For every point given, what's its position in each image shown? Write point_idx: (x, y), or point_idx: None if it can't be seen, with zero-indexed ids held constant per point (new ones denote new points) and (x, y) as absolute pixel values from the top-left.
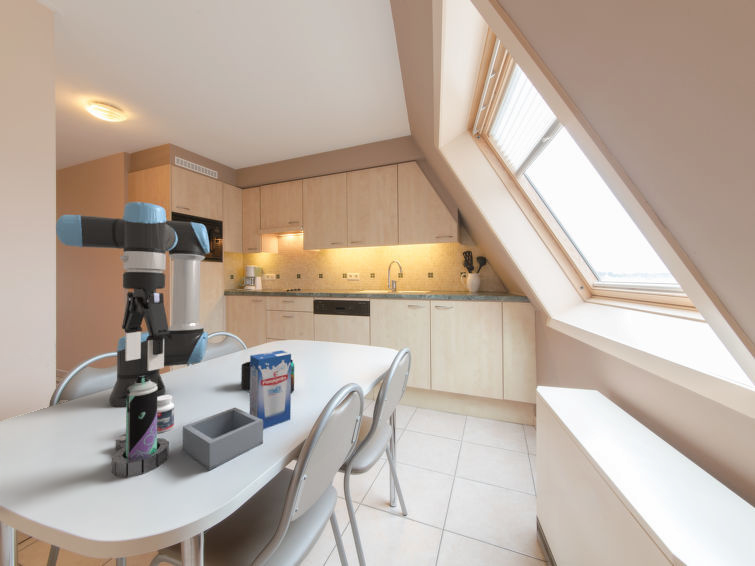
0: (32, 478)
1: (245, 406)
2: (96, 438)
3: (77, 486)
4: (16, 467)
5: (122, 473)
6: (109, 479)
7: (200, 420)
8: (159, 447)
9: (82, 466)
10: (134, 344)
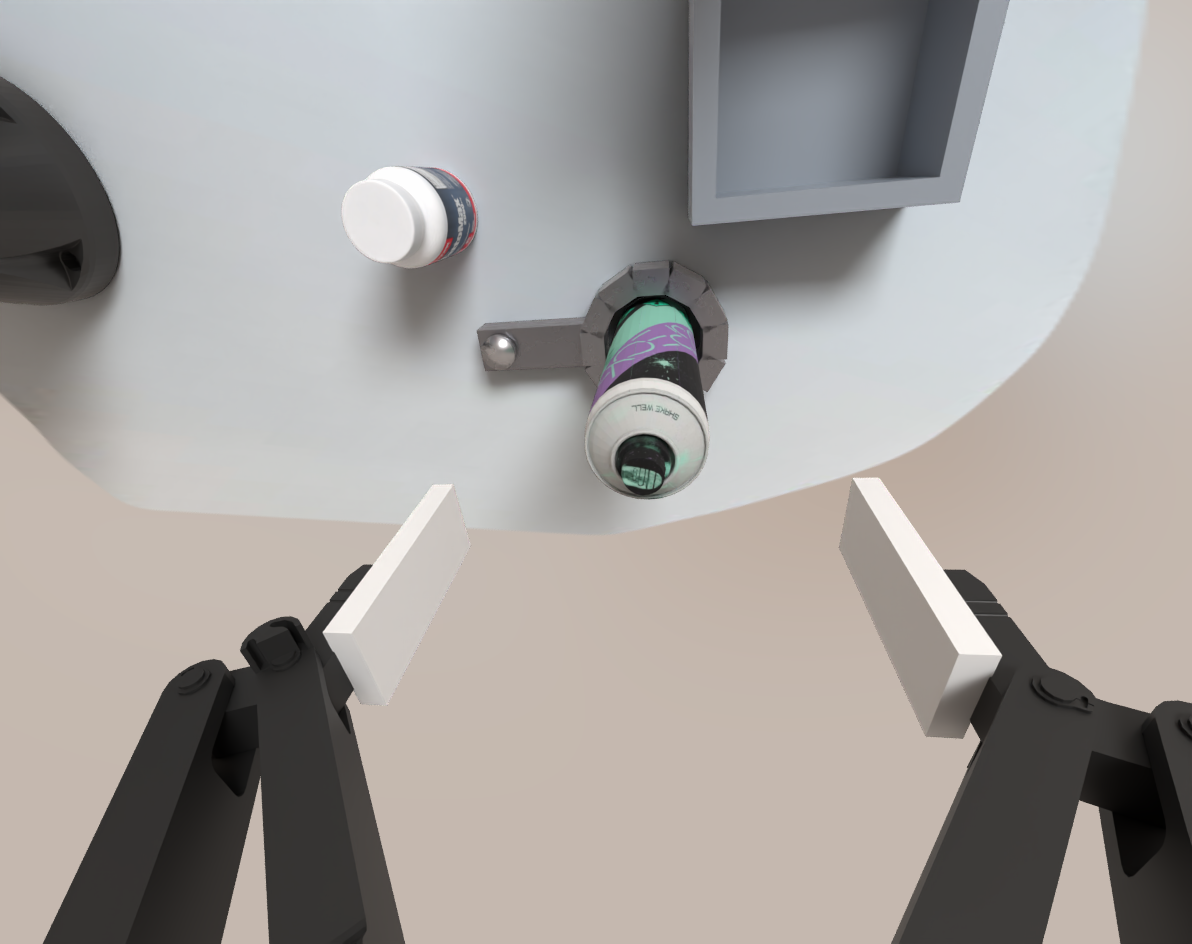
0: (522, 502)
1: None
2: (380, 383)
3: None
4: None
5: None
6: None
7: (697, 138)
8: (686, 303)
9: (544, 434)
10: (418, 586)
